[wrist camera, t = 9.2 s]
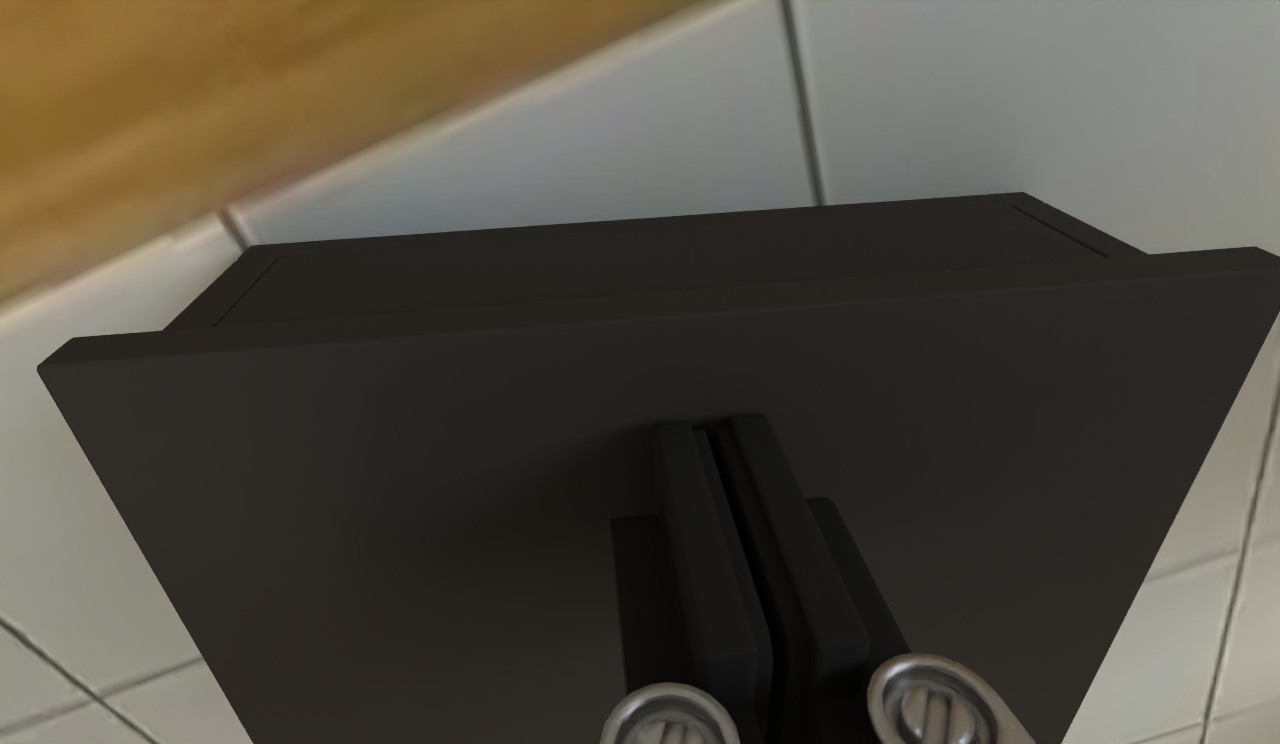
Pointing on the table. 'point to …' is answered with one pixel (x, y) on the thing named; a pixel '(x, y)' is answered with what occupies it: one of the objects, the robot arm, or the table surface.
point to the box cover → (623, 475)
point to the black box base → (640, 257)
